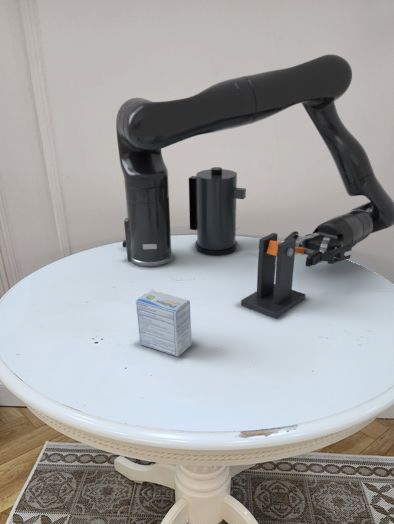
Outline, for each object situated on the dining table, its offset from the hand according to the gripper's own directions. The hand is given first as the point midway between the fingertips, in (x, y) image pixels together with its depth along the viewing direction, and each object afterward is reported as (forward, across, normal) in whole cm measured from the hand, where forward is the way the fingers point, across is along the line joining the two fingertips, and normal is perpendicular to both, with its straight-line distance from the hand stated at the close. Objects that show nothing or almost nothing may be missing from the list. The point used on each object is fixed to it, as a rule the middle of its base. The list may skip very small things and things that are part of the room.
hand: (295, 258), depth 102 cm
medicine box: (+31, -5, +8) cm, 32 cm away
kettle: (-8, -27, +7) cm, 29 cm away
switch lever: (+3, 0, -1) cm, 3 cm away
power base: (+6, 0, +7) cm, 10 cm away
